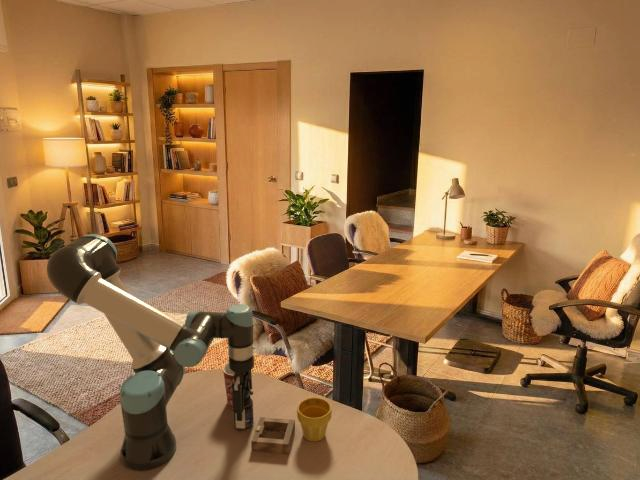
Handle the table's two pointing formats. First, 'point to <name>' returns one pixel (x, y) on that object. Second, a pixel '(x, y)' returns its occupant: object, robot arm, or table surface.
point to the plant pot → (314, 417)
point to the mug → (229, 383)
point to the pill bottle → (247, 411)
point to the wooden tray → (273, 444)
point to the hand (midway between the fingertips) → (243, 420)
